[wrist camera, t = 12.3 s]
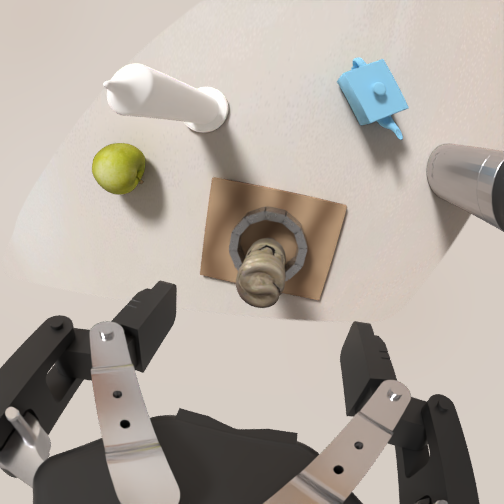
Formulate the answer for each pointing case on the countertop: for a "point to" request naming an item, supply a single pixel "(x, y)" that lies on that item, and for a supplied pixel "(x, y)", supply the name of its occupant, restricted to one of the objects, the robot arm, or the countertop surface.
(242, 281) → the light bulb
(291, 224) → the ring seat
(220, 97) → the candle
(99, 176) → the apple
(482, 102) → the countertop surface
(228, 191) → the board
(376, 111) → the teapot
